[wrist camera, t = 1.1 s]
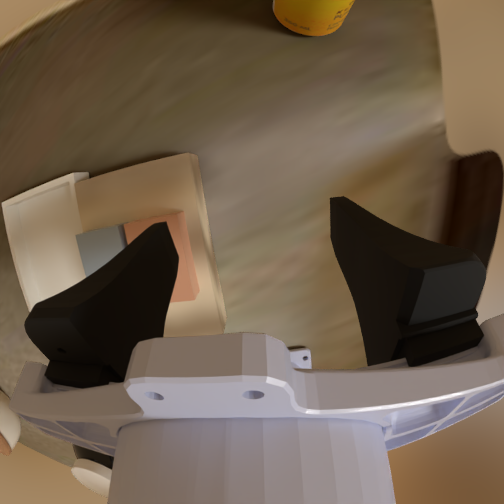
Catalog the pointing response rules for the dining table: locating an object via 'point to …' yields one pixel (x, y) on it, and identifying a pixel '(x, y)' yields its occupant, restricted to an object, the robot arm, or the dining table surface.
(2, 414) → the lidded bowl
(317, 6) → the beer can
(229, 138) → the dining table surface
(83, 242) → the slate-blue tile
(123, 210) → the birch plate
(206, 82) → the dining table surface
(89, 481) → the spread jar
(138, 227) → the terracotta tile
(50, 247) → the box
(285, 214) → the dining table surface
